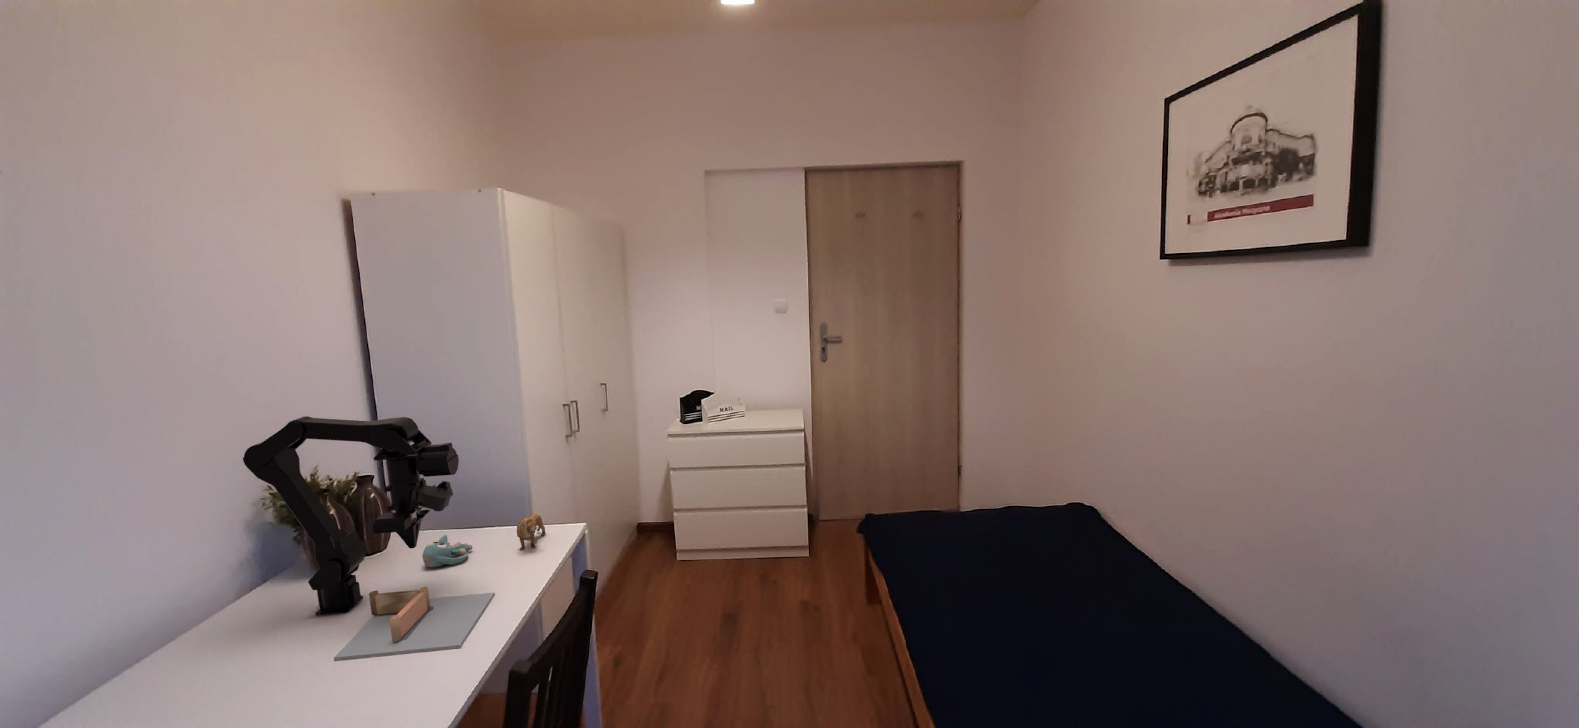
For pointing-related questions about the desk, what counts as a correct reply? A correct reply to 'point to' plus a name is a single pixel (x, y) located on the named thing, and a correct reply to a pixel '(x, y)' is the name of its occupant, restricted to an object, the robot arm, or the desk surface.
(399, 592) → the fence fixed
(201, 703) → the desk surface
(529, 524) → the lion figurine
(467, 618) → the card
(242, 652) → the desk surface
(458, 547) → the stuffed animal
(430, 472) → the robot arm
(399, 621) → the fence panel
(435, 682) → the desk surface
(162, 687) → the desk surface
